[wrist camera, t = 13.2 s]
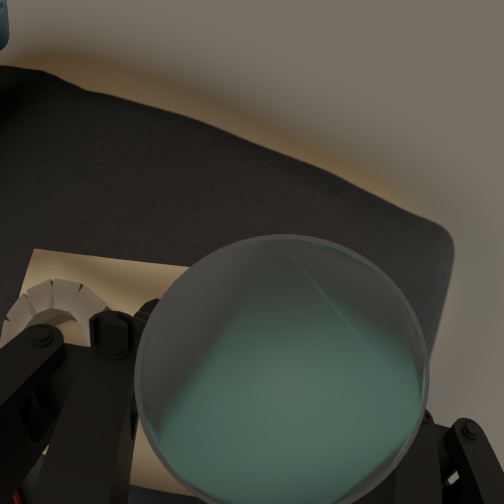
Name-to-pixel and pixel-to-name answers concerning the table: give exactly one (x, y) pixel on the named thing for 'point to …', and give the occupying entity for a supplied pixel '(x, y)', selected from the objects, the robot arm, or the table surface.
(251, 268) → the teal cylindrical container
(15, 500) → the plant pot
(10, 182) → the table surface
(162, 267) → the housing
